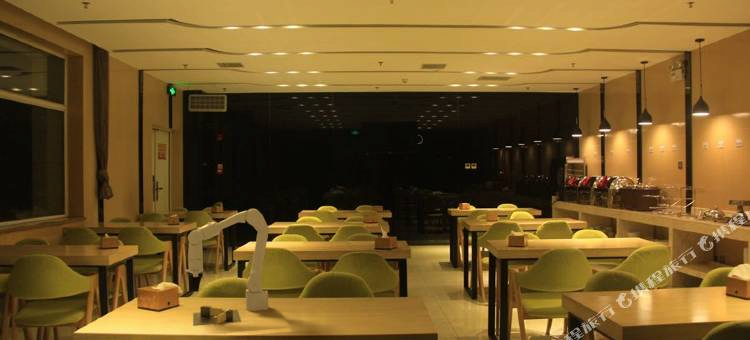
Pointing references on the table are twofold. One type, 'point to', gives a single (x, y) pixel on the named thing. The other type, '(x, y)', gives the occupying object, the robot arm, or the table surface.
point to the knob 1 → (210, 311)
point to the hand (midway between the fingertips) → (195, 291)
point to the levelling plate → (213, 319)
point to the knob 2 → (225, 316)
